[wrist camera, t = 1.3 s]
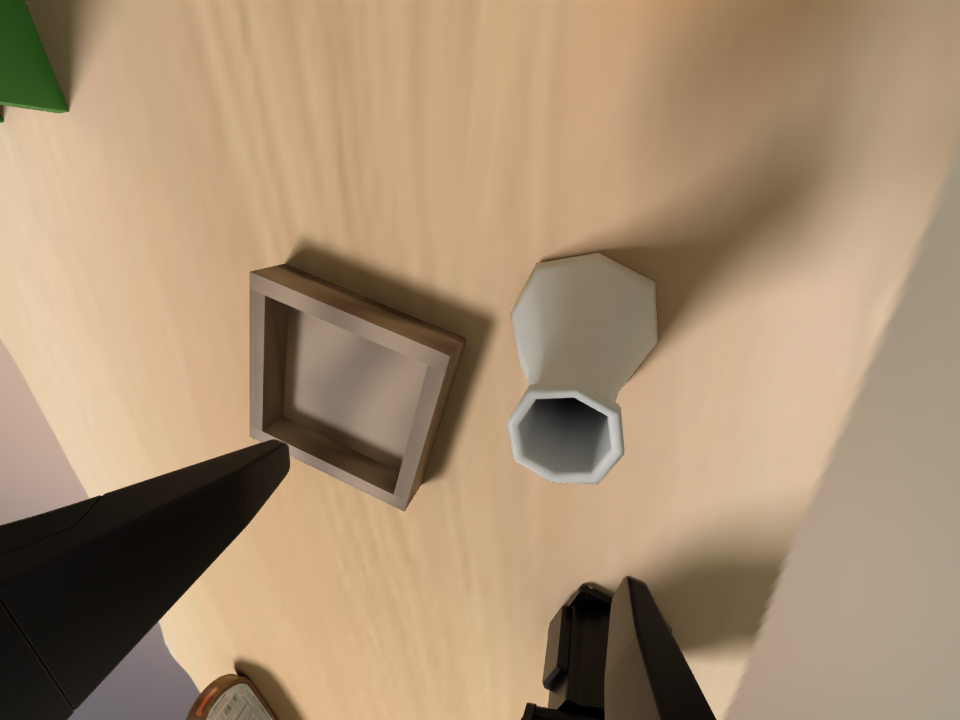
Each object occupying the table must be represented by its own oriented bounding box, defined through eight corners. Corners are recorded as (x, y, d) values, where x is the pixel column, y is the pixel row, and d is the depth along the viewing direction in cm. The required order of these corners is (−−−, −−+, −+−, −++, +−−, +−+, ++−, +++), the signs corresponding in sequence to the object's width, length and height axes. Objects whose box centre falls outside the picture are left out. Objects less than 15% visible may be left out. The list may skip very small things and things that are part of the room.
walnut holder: (466, 339, 21) (450, 356, 19) (420, 485, 27) (404, 511, 25) (283, 263, 23) (249, 271, 20) (277, 417, 28) (249, 436, 26)
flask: (522, 240, 18) (448, 286, 9) (682, 264, 17) (770, 345, 8) (502, 372, 21) (433, 498, 13) (635, 402, 20) (662, 570, 11)
